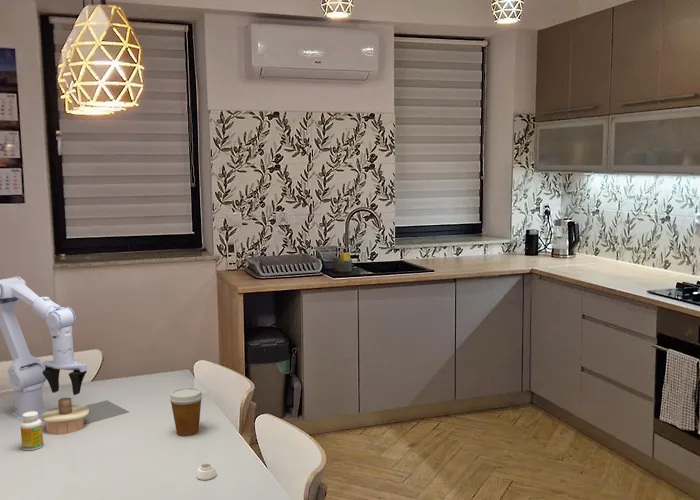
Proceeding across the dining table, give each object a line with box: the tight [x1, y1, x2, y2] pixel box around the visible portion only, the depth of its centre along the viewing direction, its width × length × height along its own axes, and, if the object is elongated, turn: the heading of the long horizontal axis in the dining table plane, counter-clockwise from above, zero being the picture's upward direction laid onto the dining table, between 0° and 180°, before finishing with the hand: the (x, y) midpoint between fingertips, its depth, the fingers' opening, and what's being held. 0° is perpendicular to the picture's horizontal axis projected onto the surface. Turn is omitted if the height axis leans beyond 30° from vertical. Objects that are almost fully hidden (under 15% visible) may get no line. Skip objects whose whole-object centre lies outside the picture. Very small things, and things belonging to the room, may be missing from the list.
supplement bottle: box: [20, 411, 44, 451], centre depth 198 cm, size 5×5×10 cm
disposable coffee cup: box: [168, 387, 204, 437], centre depth 207 cm, size 10×10×12 cm
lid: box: [41, 397, 89, 423], centre depth 212 cm, size 13×13×5 cm
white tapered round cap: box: [195, 462, 218, 481], centre depth 179 cm, size 5×3×5 cm
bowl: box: [45, 418, 85, 435], centre depth 212 cm, size 10×10×4 cm
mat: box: [84, 399, 130, 425], centre depth 225 cm, size 16×14×1 cm
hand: (66, 392), depth 215 cm, fingers open, 7 cm apart
